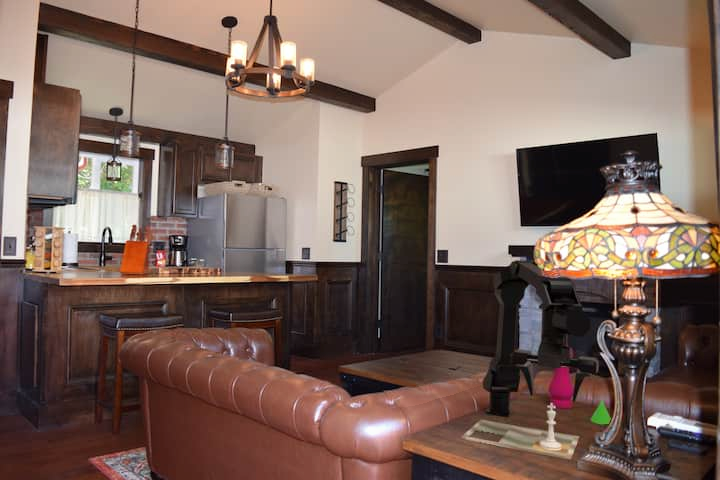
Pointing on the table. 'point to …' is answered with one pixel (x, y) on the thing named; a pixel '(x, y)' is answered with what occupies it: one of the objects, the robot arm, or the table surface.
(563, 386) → the pepper mill
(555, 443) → the chess piece
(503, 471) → the table surface
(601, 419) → the gemstone
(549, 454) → the game board
